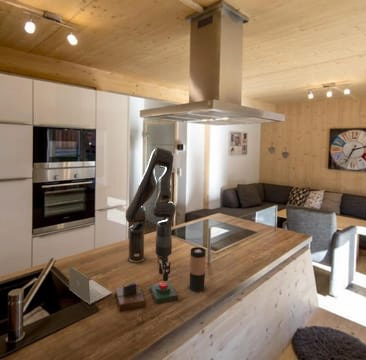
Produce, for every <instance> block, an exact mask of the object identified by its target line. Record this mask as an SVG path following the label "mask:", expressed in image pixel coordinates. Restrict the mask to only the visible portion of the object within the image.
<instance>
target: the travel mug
mask: <svg viewBox="0 0 366 360" xmlns="http://www.w3.org/2000/svg"><path fill="white" fill-rule="evenodd" d="M206 252H207V250H206V249H205V248H204V247H201V246H197V247H191V249H190V257H189V288H190V290H191V291H193V292H202V291H204V290H205V280H206V258H207V255H206V254H207V253H206Z"/></svg>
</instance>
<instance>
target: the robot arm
mask: <svg viewBox="0 0 366 360" xmlns="http://www.w3.org/2000/svg"><path fill="white" fill-rule="evenodd" d="M174 156H175V155H174V152H173V151H171V150H169V149H166V148H161V147H155V148H154V149H153V151H152V152H151V155H150V158H149V161H148V164H147V166H146V169H145V172H144V174H143V176H142V178H141V180H140V183H139V185H138V187H137V189H136V192H135V194H134V196H133V198H132V200H131V202H130V203H129V206H128V207H127V209H126V211H125V220H126V222H127V223H129V224H132V225H131V226H130V227H129V228H128V261H129V262H130V263H142V262H143V261H145V229H146V221H147V212H146V209H145V207H143V206H144V205H145V204H146V203H148V201H149V200H150V199H152V197H153V196H154V194H155V192H156V195H155V200H154V203H153V205H152V209H151V210H152V214H153V216H154V217H155V218H166V219H165V220H161V221H158V222H157V223H156V228H155V234H156V235H155V254H156V258H157V259H156V260H157V264H158V274H159V275H162V282H168V281H169V275H170V274H171V261H170V260H169V256H171V255H172V254H173V251H172V250H173V241H172V240H173V237H172V229H173V228H172V226H173V221H174V217H175V214H176V211H177V207H176V204H175V203H174V202H172V201H169V200H171V198H172V176H173V169H174V159H175V157H174ZM156 166H157V167H161V168H165V169H164V172H163V173H162V175H161V176H160V177H159V178H158V180H157V179H156V175H155V174H156V173H155V168H156Z"/></svg>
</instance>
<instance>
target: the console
mask: <svg viewBox="0 0 366 360" xmlns="http://www.w3.org/2000/svg"><path fill="white" fill-rule="evenodd" d="M115 295H116V300H117V305H118V309H119V312H121V311H122V312H123V311H128V310H133V309H138V308H144V307H145V306H146V299H145V297H144V295H143V292H142V290H141V287H140V284H137V293H135V294H131V295H128V296H125V297H124V295H123V286H122V287H115Z"/></svg>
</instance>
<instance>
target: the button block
mask: <svg viewBox="0 0 366 360" xmlns="http://www.w3.org/2000/svg"><path fill="white" fill-rule="evenodd" d="M166 283H167V288H166V289H160V283H157V284H151V285H149V290H150V292H151V295H152V297H153V299H154V301H155V304H160V303H165V302H166V303H167V302H170V301H171V302H172V301H177V300H178V294H177V293H176V291H175V289H174V287H173V286H172V284H171V282H166Z"/></svg>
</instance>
